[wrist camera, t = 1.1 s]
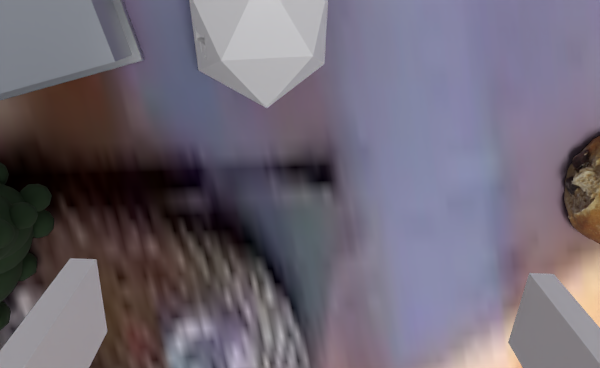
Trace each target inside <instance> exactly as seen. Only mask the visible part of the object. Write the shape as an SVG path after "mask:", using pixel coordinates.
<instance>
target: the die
mask: <svg viewBox="0 0 600 368" xmlns="http://www.w3.org/2000/svg"><path fill="white" fill-rule="evenodd" d="M189 2H190V10H191V17H192V25H193V33H194V40H195V48H196V55H197V63H198V70H199V71H200V72H202V73H204V74H206V75H208V76H209V77H211V78H213V79H215V80H217V81H218V82H220V83H222V84H224V85H226V86H228V87H229V88H231V89H233V90H235V91H237V92H238V93H240V94H242V95H244V96H246V97H247V98H249V99H251V100H253V101H255V102H256V103H258V104H260V105H262V106H264V107H266V108H268V107H269V106H271V105H272V104H273V103H274V102H276V101H277V100H278V99H280V98H281V97H282V96H284V95H285V94H286V93H287V92H289V91H290V90H291V89H293V88H294V87H295V86H296V85H298V84H299V83H300V82H302V81H303V80H304V79H306V78H307V77H308V76H309V75H311V74H312V73H313V72H315V71H316V70H317V69H319V68H320V67H321V66H322V65H324V64H325V46H326V27H327V9H328V0H189Z"/></svg>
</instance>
